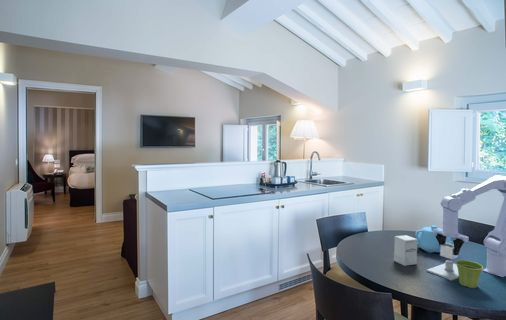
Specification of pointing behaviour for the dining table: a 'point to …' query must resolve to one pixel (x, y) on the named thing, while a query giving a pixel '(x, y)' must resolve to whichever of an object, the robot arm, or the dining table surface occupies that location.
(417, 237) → the decorative pot
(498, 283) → the dining table surface
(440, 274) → the duct plate
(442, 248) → the white boxy piece
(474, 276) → the plant pot
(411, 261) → the supplement box
